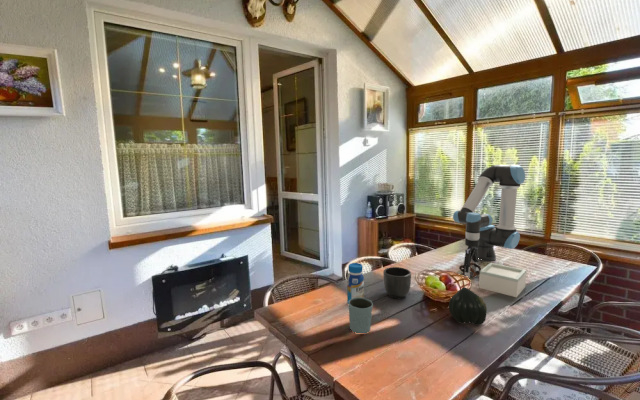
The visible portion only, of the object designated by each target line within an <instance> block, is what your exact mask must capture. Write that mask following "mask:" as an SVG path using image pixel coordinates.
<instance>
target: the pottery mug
mask: <svg viewBox="0 0 640 400" xmlns="http://www.w3.org/2000/svg"><path fill="white" fill-rule="evenodd" d="M463 265H464V264H461V265H459V267H458V269H459V271H461V273H462V274H464V275H465V266H463ZM472 265H474V267H477V268H478V270H476V272H474V271H475V270H474V269H472ZM480 270H482V268H481V267H480V266H479V264H478V263H477V264H475V263H472V262H471V263H470V273H472V275H471V277H472V278H476V277H478V276H480Z"/></svg>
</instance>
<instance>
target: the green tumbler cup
mask: <svg viewBox="0 0 640 400" xmlns="http://www.w3.org/2000/svg"><path fill="white" fill-rule="evenodd" d="M348 303H349V305H348V319H349V330H350V329H351V330H352V331H353V332H356V333H367V332H369V331H371V324H372V315H373V313H372V312H373V306H374V304H373V301H372V300H370V299H368V298H366V297H364V298H361V297H357V298H352V299H350V300H349V302H348ZM348 303H347V304H348ZM351 330H350V331H351ZM353 332H352V333H353ZM369 333H370V332H369ZM367 334H368V333H367Z"/></svg>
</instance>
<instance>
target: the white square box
mask: <svg viewBox="0 0 640 400" xmlns="http://www.w3.org/2000/svg"><path fill="white" fill-rule="evenodd" d="M526 280H527V269H524V268H519V267H513V266H508V265H503V264H499V263H494V262H490V263H488V264H487V265H486V266H485V267H483V268H481V270H480V275H479V280H478V281H479V282H478V288H479V289H482V290H487V291H490V292H494V293H498V294H503V295H505V296H509V297H513V298H518V296H519V295H520V294H521V293H522V291H523V290H524V289H525V288H526Z"/></svg>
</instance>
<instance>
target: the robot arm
mask: <svg viewBox="0 0 640 400" xmlns="http://www.w3.org/2000/svg"><path fill="white" fill-rule="evenodd" d="M525 180H526V173H525V169H524V168H523V166H521V165H516V164H494V165H491V166H489V167H488V168H486V169H485V170H483V172H482V173H480V175H479V176H478V178H477V183H476V184H475V186H474V188H473V189H472V191H471V193H470V194H469V196H468V197H467V198H466V200H465V202H464V204H463V206H462V207H461V208H460V210H455V211H454V212H453V215H452V220H454V222H455V223H458V224H464V225H465V232H464V235H465V240H464V243H465V246H467V248H466V249H465V254H464V255H465V256H464V260H463V264H462V265H463V266H465V274H464V276H465V275H466V276H468V277H469V278H468V279H470V278H471V271H470V263H475V264H477V265H478V263H479V262H480V260H478V258H479V259H482V260H489V261H488V262H493V261H495V260H496V259H497V255H496V253H495V248H494V246H495V247H500V248H502V249H509V250H513V249H515V248H516V247H517V246H518V244H519V242H520V238H521V235H520V232H518V231H517V227H516V226H515V218H516V217H515V216H516V206H517V194H518V189H519V188H521V184H523V183H524V182H525ZM495 183H499V184H498V185H499V187H500V188H501V195H500V205H499V217H498V218H499V220H498V225H496V226H495V225H494V224H493V222H494V221H493V217H492V215H490V214H489V213H483V214H481V213H479V212H475V211H476V209H477V208H478V206H479V205H480V203H481V201H482V199H483V198H484V196H485V195H486V193H487V192H488V191H489V188H491V187H492V186H493V184H495ZM482 260H481V261H482ZM471 268H472V269H474V270H475V271H474V272H476V271H478V270H477V267H474V265H472V266H471Z"/></svg>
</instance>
